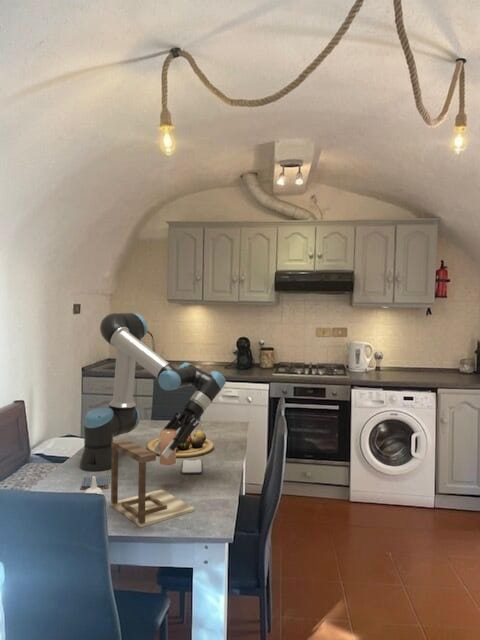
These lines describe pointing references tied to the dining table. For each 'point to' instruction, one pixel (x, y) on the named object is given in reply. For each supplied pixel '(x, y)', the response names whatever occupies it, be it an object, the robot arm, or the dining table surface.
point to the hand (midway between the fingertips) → (159, 453)
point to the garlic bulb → (94, 487)
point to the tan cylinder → (165, 440)
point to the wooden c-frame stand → (143, 490)
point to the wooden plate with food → (188, 446)
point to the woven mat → (99, 480)
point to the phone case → (191, 467)
